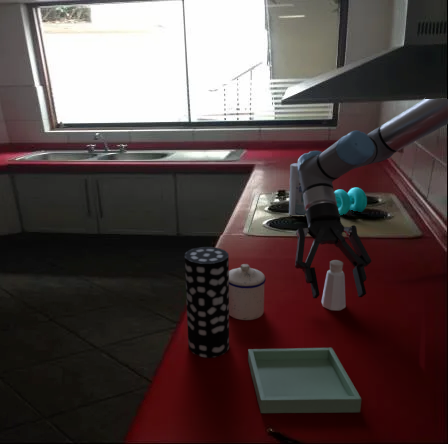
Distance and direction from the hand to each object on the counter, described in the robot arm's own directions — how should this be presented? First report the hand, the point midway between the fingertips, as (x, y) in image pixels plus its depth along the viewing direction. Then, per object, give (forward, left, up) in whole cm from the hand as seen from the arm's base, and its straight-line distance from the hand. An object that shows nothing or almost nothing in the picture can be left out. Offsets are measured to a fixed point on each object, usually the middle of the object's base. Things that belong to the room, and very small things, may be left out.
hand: (339, 296), depth 93 cm
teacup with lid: (+22, -2, -4) cm, 23 cm away
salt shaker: (0, -3, -4) cm, 5 cm away
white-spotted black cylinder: (+30, +12, -4) cm, 33 cm away
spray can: (-10, -74, -4) cm, 75 cm away
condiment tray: (+15, +24, -4) cm, 28 cm away
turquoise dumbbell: (-29, -73, -4) cm, 79 cm away
